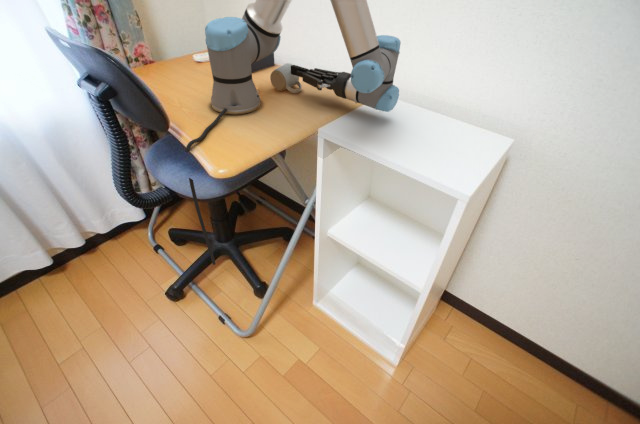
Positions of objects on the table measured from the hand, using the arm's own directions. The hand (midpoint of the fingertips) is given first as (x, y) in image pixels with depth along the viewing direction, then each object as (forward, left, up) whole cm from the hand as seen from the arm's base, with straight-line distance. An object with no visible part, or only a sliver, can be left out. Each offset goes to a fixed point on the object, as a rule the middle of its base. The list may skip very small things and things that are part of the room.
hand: (292, 69), depth 106 cm
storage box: (+10, +30, -7) cm, 33 cm away
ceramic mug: (0, +2, -7) cm, 8 cm away
